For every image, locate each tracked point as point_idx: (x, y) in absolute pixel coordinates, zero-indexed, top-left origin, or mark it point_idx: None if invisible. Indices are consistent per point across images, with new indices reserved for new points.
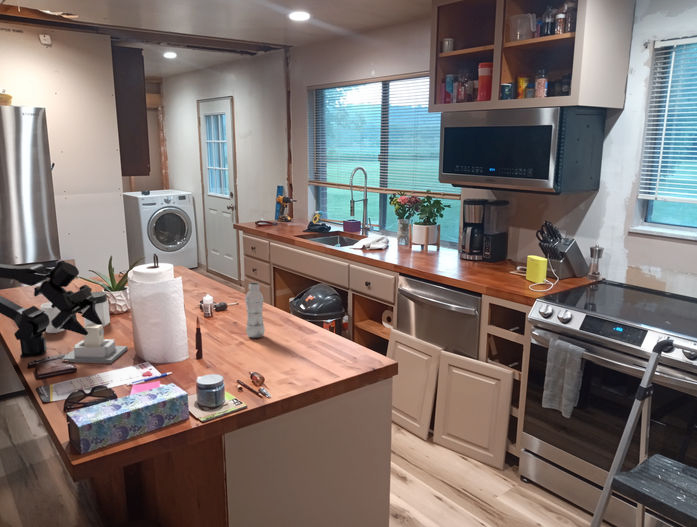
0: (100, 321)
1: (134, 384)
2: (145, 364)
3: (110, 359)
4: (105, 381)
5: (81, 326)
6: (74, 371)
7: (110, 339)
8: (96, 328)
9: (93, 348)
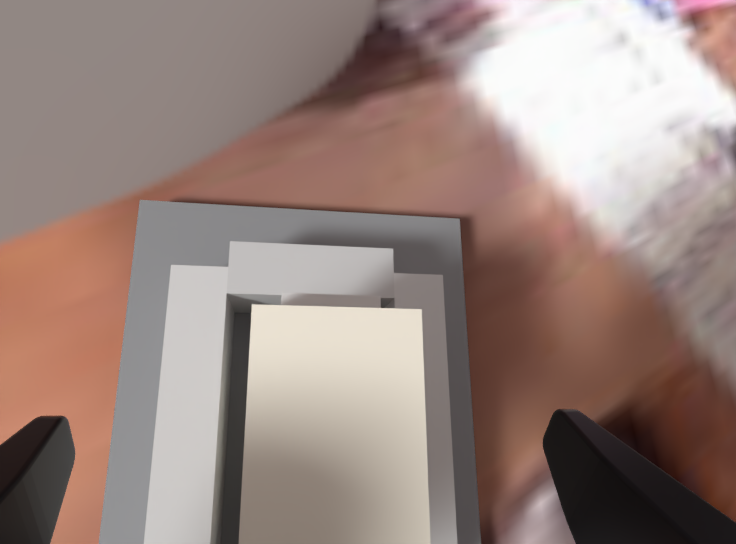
0: (22, 449)
1: (681, 4)
2: (430, 12)
3: (450, 223)
4: (692, 155)
5: (705, 522)
6: (619, 429)
7: (169, 312)
8: (418, 338)
9: (447, 373)
